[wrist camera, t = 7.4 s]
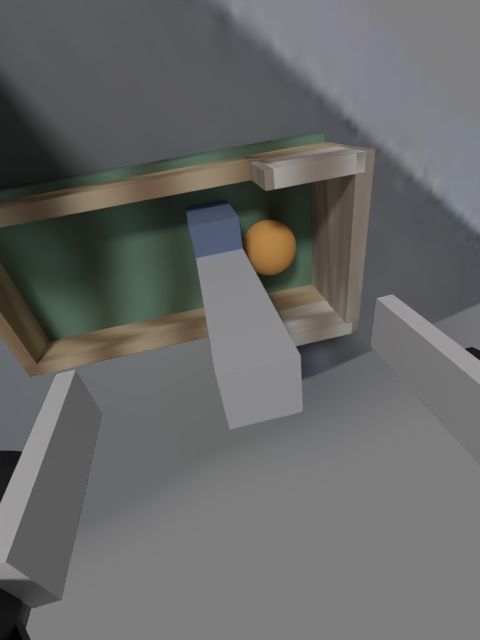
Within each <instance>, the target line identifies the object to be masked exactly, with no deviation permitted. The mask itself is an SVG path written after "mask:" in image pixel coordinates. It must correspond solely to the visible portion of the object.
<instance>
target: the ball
mask: <svg viewBox="0 0 480 640" xmlns="http://www.w3.org/2000/svg"><path fill="white" fill-rule="evenodd" d="M242 246H243V250H244V252H245V254H246V255H247V257H248V259H249V261H250V263H251V265H252V267H253V268H254V270H255V272H257V273H259V274H262V275H275V274H278V273H280V272H282V271H284V270H285V269H286V268H288V266H289V265H290V264H291V263H292V261H293V259H294V257H295V254H296V240H295V237H294V235H293V233H292V231H291V230H290V229H289V227H287V226H286V225H285V224H283V223H282V222H280V221H277V220H263V221H260V222H257V223H256V224H254V225H253V226H251V227H250V228H249V230H248V231H247V232H246V234H245V236H244V238H243V242H242Z"/></svg>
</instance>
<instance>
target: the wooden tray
mask: <svg viewBox="0 0 480 640" xmlns="http://www.w3.org/2000/svg"><path fill="white" fill-rule="evenodd" d="M374 158H375V149H369V148H362V147H356V146H349V145H343V144H336V143H330V142H325V133H311V134H305V135H300V136H294V137H289V138H283V139H278V140H272V141H267V142H261V143H255V144H250V145H244V146H239V147H233V148H228V149H222V150H217V151H211V152H205V153H200V154H194V155H189V156H183V157H178V158H172V159H167V160H161V161H156V162H150V163H144V164H139V165H133V166H128V167H122V168H117V169H111V170H106V171H100V172H94V173H89V174H83V175H78V176H72V177H67V178H61V179H56V180H50V181H45V182H39V183H33V184H28V185H22V186H17V187H11V188H6V189H0V336H1V338H2V339H3V340H4V341H5V343H6V344H7V346H8V347H9V349H10V350H11V351H12V353H13V354H14V355H15V357H16V358H17V359H18V361H19V362H20V363H21V365H22V366H23V368H24V369H25V370H26V372H27V373H28V374H29V376H30V377H32V376H36V375H41V374H45V373H50V372H54V371H58V370H63V369H67V368H72V367H76V366H81V365H85V364H89V363H94V362H99V361H103V360H107V359H112V358H116V357H121V356H125V355H130V354H134V353H139V352H143V351H148V350H152V349H157V348H161V347H165V346H170V345H174V344H179V343H183V342H188V341H192V340H197V339H201V338H205V337H209V333H208V327H207V321H206V315H205V309H204V303H203V297H202V291H201V286H200V280H199V274H198V268H197V262H196V257H195V252H194V248H193V244H192V240H191V235H190V231H189V227H188V220H187V214H186V208H187V207H193V206H198V205H203V204H208V203H213V202H219V201H224V200H227V201H228V202H229V204H230V205H231V207H232V208H233V210H234V211H235V213H236V214H237V216H238V218H239V225H240V232H241V239H242V242H243V238H244V236H245V234H246V232H247V231H248V230H249V228H250V227H251V226H253V225H254V224H256V223H257V222H260V221H263V220H277V221H280V222H282V223H283V224H285V225H286V226H287V227H289V229H290V230H291V231H292V233H293V235H294V237H295V240H296V254H295V257H294V259H293V261H292V263H291V264H290V265H289V266H288V268H286V269H285V270H284V271H282V272H280V273H278V274H275V275H262V274H259V273H257V272H256V274H257V276H258V278H259V279H260V281H261V283H262V285H263V287H264V289H265V291H266V292H267V294H268V296H269V298H270V300H271V302H272V304H273V305H274V307H275V309H276V311H277V313H278V315H279V316H280V318H281V320H282V322H283V324H284V326H285V328H286V329H287V331H288V333H289V335H290V337H291V339H292V341H293V342H294V344H295V346H299V345H304V344H308V343H312V342H317V341H321V340H325V339H330V338H334V337H338V336H343V335H347V334H351V333H356V332H358V324H359V314H360V303H361V293H362V282H363V272H364V262H365V251H366V241H367V231H368V220H369V210H370V199H371V189H372V179H373V168H374Z"/></svg>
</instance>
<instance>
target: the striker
mask: <svg viewBox="0 0 480 640" xmlns="http://www.w3.org/2000/svg"><path fill="white" fill-rule="evenodd" d="M186 214H187V220H188V227H189V231H190V235H191V240H192V244H193V248H194V252H195V257H196V262H197V268H198V274H199V280H200V286H201V291H202V297H203V303H204V309H205V315H206V321H207V327H208V333H209V339H210V345H211V351H212V357H213V363H214V368H215V375H216V379H217V382H218V386H219V390H220V394H221V398H222V402H223V406H224V410H225V413H226V418H227V421H228V425H229V429H230V430H231V429H234V428H239V427H243V426H247V425H251V424H255V423H259V422H263V421H267V420H271V419H275V418H279V417H283V416H287V415H291V414H295V413H299V412H303V408H302V406H303V405H302V379H301V355H300V354H299V352H298V350H297V348H296V346H295V344H294V342H293V341H292V339H291V337H290V335H289V333H288V331H287V329H286V328H285V326H284V324H283V322H282V320H281V318H280V316H279V315H278V313H277V311H276V309H275V307H274V305H273V304H272V302H271V300H270V298H269V296H268V294H267V292H266V291H265V289H264V287H263V285H262V283H261V281H260V279H259V278H258V276H257V274H256V272H255V270H254V268H253V267H252V265H251V263H250V261H249V259H248V257H247V255H246V254H245V252H244V250H243V246H242V239H241V232H240V225H239V218H238V216H237V214H236V213H235V211H234V210H233V208H232V207H231V205H230V204H229V202H228V201H227V200H224V201H219V202H213V203H208V204H203V205H198V206H193V207H187V208H186Z"/></svg>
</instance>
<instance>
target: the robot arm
mask: <svg viewBox="0 0 480 640" xmlns="http://www.w3.org/2000/svg"><path fill="white" fill-rule="evenodd" d="M371 347H372V348H373V349H374V350H375V352H376V353H377V354H378V355H379V356H380V357H381V358H382V359H383V360H384V361H385V362H386V364H388V366H389V367H390V368H391V369H392V370H393V371H394V372H395V373H396V374H397V375H398V377H399V378H400V379H401V380H402V381H403V382H404V383H405V384H406V385H407V386H408V388H409V389H410V390H411V391H412V392H413V393H414V394H415V395H416V396H417V397H418V398H419V400H420V401H421V402H422V403H423V404H424V405H425V406H426V407H427V408H428V409H429V410H430V412H431V413H432V414H433V415H434V416H435V417H436V418H437V419H438V420H439V421H440V422H441V424H442V425H443V426H444V427H445V428H446V429H447V430H448V431H449V432H450V433H451V434H452V436H453V437H454V438H455V439H456V440H457V441H458V442H459V443H460V444H461V445H462V446H463V448H465V450H466V451H467V452H468V453H469V454H470V455H471V456H472V457H473V458H474V460H475V461H476V462H477V463H478V464H479V465H480V350H478V349H475V348H473V347H470V348H466V349H464V348H462V347H461V346H460V345H459V344H457V343H456V342H454V341H453V340H452V339H450V338H449V337H448V336H447V335H445V334H444V333H443V332H441V331H440V330H439V329H437V328H436V327H435V326H433V325H432V324H431V323H430V322H428V321H427V320H426V319H424V318H423V317H422V316H420V315H419V314H418V313H416V312H415V311H414V310H412V309H411V308H410V307H408V306H407V305H406V304H404V303H403V302H402V301H400V300H399V299H398V298H397V297H395V296H394V295H389V296H384V297H380V298H377V299H376V308H375V316H374V324H373V332H372V340H371ZM101 416H102V413H101V411H100V409H99V408H98V406H97V404H96V403H95V401H94V399H93V398H92V396H91V394H90V393H89V391H88V389H87V388H86V386H85V384H84V383H83V381H82V379H81V378H80V376H79V374H78V373H77V371H76V370H73V371H68V372H64V373H59V374H56V376H55V379H54V381H53V383H52V385H51V388H50V390H49V392H48V395H47V397H46V399H45V402H44V404H43V406H42V408H41V411H40V413H39V415H38V418H37V420H36V422H35V425H34V427H33V429H32V431H31V434H30V436H29V438H28V441H27V443H26V445H25V448H24V450H23V452H20V451H0V640H30V637H29V635H28V633H27V631H26V626H27V621H28V618H29V615H30V611H31V608H36V607H39V606H42V605H46V604H49V603H52V602H56V601H59V600H62V595H63V591H64V586H65V582H66V577H67V572H68V567H69V563H70V558H71V554H72V550H73V545H74V540H75V536H76V531H77V526H78V522H79V517H80V513H81V508H82V504H83V499H84V495H85V490H86V485H87V481H88V476H89V472H90V467H91V462H92V458H93V453H94V449H95V444H96V440H97V435H98V430H99V426H100V421H101Z"/></svg>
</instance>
